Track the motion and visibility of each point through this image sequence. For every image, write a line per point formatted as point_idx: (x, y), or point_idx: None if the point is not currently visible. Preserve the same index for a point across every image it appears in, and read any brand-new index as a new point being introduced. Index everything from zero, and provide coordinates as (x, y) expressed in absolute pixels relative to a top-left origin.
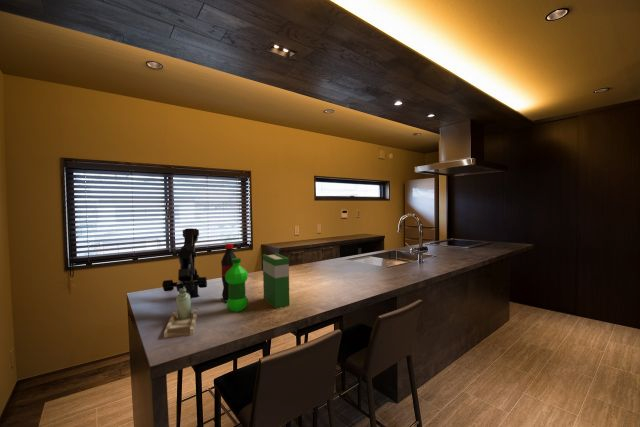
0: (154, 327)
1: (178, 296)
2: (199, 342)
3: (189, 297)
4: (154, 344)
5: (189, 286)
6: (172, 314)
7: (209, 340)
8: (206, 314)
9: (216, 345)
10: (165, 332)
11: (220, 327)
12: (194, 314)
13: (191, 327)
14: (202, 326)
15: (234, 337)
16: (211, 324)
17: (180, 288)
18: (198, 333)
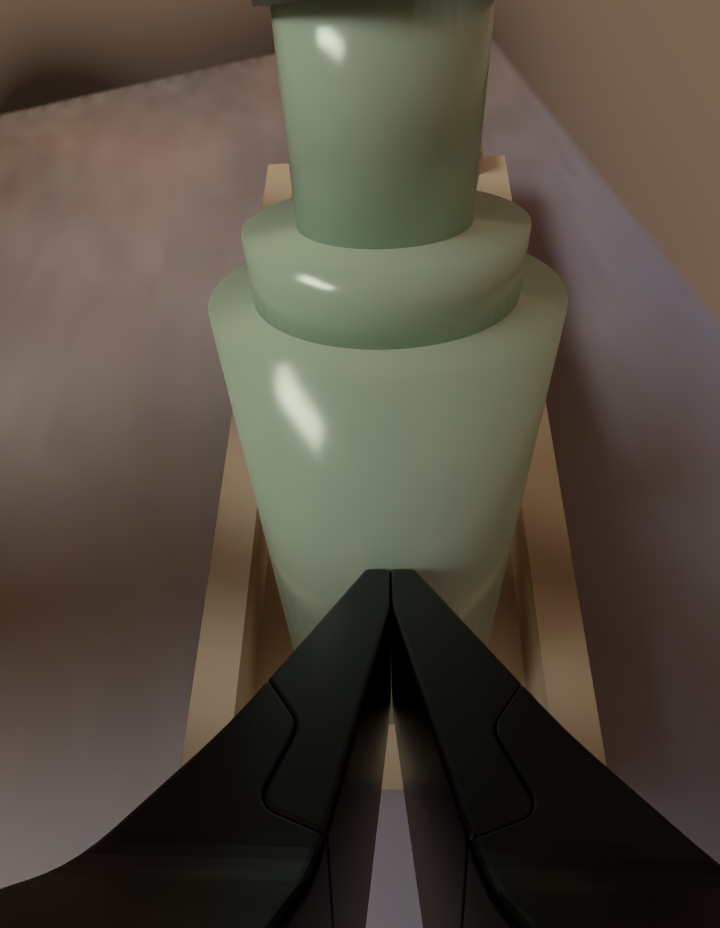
0: (694, 458)
1: (500, 210)
2: (243, 124)
3: (233, 277)
4: (540, 162)
5: (35, 884)
6: (571, 613)
7: (180, 131)
8: (102, 676)
9: (152, 81)
10: (492, 158)
11: (60, 275)
12: (246, 492)
13: (283, 186)
14: (198, 335)
15: (27, 129)
16: (114, 352)
17: (691, 879)
18: (241, 228)
